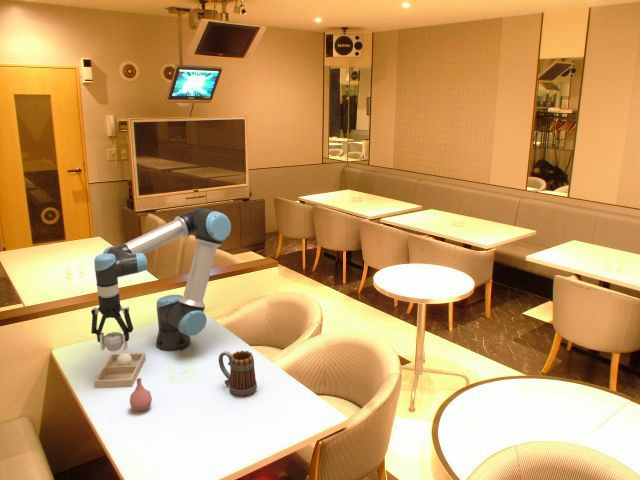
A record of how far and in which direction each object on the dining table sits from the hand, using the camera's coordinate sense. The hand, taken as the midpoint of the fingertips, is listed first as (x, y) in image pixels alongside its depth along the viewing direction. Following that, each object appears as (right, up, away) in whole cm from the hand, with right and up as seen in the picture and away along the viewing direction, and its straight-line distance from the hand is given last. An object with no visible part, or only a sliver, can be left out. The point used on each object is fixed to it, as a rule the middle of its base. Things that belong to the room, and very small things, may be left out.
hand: (114, 348), depth 214 cm
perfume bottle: (+16, -19, -15) cm, 29 cm away
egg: (-1, -10, +14) cm, 17 cm away
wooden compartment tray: (0, -12, +9) cm, 15 cm away
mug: (+49, -15, -2) cm, 51 cm away
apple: (0, 0, 0) cm, 1 cm away
